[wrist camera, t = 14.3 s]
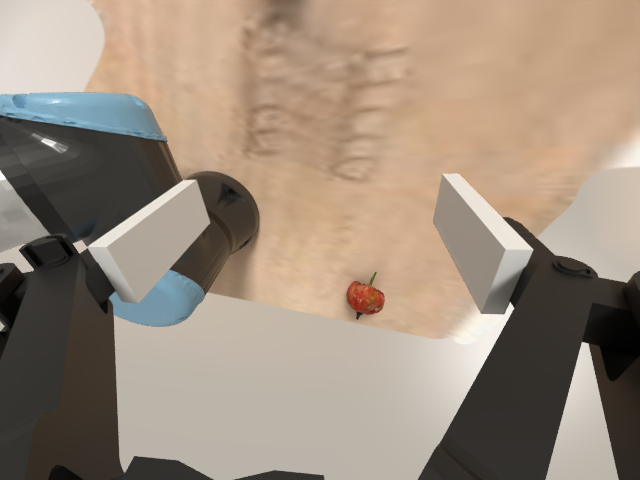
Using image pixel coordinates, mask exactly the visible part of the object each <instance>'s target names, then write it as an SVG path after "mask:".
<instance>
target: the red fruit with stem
mask: <svg viewBox="0 0 640 480" xmlns="http://www.w3.org/2000/svg"><path fill="white" fill-rule="evenodd" d="M376 273H377V272H375V274H374V276H373V278H372V279H371V283H370V285H369V286H368V285H366V284H361V283H360V282H358V281H354V282H353V283H352V284H351V285H350V287H349V288H348V291H347V299H348V302H349V304H350V306H351V307H352V308H353V309H354V310H356V312H357V317H356V319H357V320H358V319H359V317H360V315H362V314H363V313H365V314H367V315H369V314H374V313H378V312H379V311H381V310H382V308H383V306H384V301H385V299H384V294H383V293H382V292H381V291H379V290H376V289H375V288H373V287H371V285H372V282H373V280H374V277H375V275H376Z"/></svg>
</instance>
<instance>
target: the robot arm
mask: <svg viewBox="0 0 640 480" xmlns="http://www.w3.org/2000/svg"><path fill="white" fill-rule="evenodd" d="M167 142H168V141H167V138H166V137H165V136H164V135H163V133H162V131H161V129H160V127H159V125H158V123H157V121H156V119H155V117H154V115H153V112H152V110H151V109H150V107H149V106H148V105H147V104H146V103H145V102H144V101H143V100H141V99H140V98H138V97H136V96H133V95H130V94H122V93H96V92H64V93H62V92H61V93H30V94H15V95H9V94H1V95H0V252H3V251H6V250H8V249H11V248H14V247H16V246H19V245H22V244H26V245H24V246H22V247H21V248H20V250H19V251H20V252H21V254H22V255H23V256H24V257H25V258H26V260H27V261H28V262H29V264H30V265H31V266H32V267H33V268H34V271H33V272H26V273H21V271H20V270H19V269H18V268H17V267H16V266H15V264H14V263H3V264H0V321H1V323H2V324H3V325H4V326H5V327H4V328H3V329H2V330H1V331H0V480H213V479H211V478H209V477H207V476H206V475H204V474H202V473H200V472H198V471H196V470H195V469H193V468H191V467H189V466H187V465H185V464H183V463H181V462H180V461H176V460H166V459H156V458H147V457H137V456H134V458H133V460H132V462H131V463H130V465H129V467H128V469H127V471H126V472H125V473H124V472H123V470H122V467H121V464H120V459H119V440H118V415H117V392H116V391H117V390H116V366H115V340H114V316H113V314H114V315H116V316H118V317H120V318H122V319H125V320H128V321H130V322H134V323H137V324H141V325H146V326H156V327H157V326H158V327H160V326H161V327H162V326H171V325H175V324H178V323H180V322H182V321H184V320H186V319H187V318H188V317H189V316H190V315H191V314H192V312H193V311H194V309H195V308H196V307H197V305H198V304H199V303H201V301H203V299H204V297H205V295H206V293H207V292H208V290H209V288H210V287H211V285H212V283H213V282H214V280H215V278H216V277H217V275H218V274H219V272H220V270H221V269H222V267H223V265H224V264H225V262H226V260H227V259H228V257H229V256H230V255H231V254H233V253H235V252H236V251H238V250H239V249H241V248H242V247H244V246H245V245H247V244H248V243H249V242H250V240H251V239H252V238H253V236H254V234H255V232H256V230H257V228H258V225H259V211H258V208H257V205H256V202H255V200H254V199H253V197H252V195H251V194H250V193H249V191H248V190H247V189H246V188H245V187H244V186H243V185H242V184H240V183H239V182H238V181H236V180H235V179H233V178H231V177H229V176H227V175H224V174H221V173H218V172H211V171H205V172H199V173H195V174H193V175H191V176H189V177H188V178H186V179H185V180H182V178H181V176H180V173H179V171H178V169H177V166H176V164H175V162H174V159H173V157H172V154H171V152H170V149H169V147H168V144H167ZM433 223H434V225H435V227H436V228H437V230H438V232H439V234H440V236H441V238H442V240H443V242H444V244H445V246H446V248H447V249H448V251H449V253H450V255H451V257H452V259H453V261H454V263H455V265H456V267H457V269H458V271H459V272H460V274H461V276H462V278H463V280H464V282H465V284H466V286H467V288H468V290H469V292H470V293H471V295H472V297H473V299H474V301H475V303H476V305H477V307H478V309H479V311H480V313H481V314H505V312H506V309H507V307H508V305H509V303H510V302H511V304H512V305H513V307H514V310H513V312H512V314H511V315H510V318H509V319H508V321H507V323H506V325H505V326H504V328H503V330H502V332H501V334H500V335H499V337H498V339H497V341H496V343H495V345H494V347H493V348H492V350H491V352H490V354H489V356H488V357H487V359H486V361H485V363H484V365H483V366H482V368H481V370H480V372H479V374H478V375H477V377H476V379H475V381H474V383H473V384H472V386H471V388H470V390H469V392H468V393H467V395H466V397H465V399H464V401H463V403H462V404H461V406H460V408H459V410H458V412H457V414H456V415H455V417H454V419H453V421H452V422H451V424H450V426H449V428H448V430H447V432H446V433H445V435H444V437H443V439H442V441H441V442H440V444H439V445H438V446H437V447H436V449H435V450H434V452H433V453H432V455H431V457H430V459H429V461H428V462H427V464H426V466H425V468H424V469H423V471H422V473H421V475H420V477H419V479H418V480H545V479H546V475H547V471H548V468H549V464H550V460H551V456H552V453H553V448H554V445H555V441H556V437H557V434H558V430H559V426H560V422H561V418H562V415H563V411H564V407H565V403H566V400H567V396H568V392H569V388H570V384H571V381H572V377H573V373H574V369H575V366H576V361H577V358H578V354H579V350H580V347H581V343H582V342H585V343H589V347H590V352H591V356H592V361H593V365H594V370H595V374H596V379H597V383H598V388H599V392H600V397H601V402H602V406H603V410H604V415H605V420H606V423H607V428H608V433H609V438H610V442H611V447H612V451H613V456H614V460H615V465H616V469H617V474H618V478H619V480H640V271H638V272H637V273H635V274H634V275H633V276H632V278H631V279H630V280H629V281H628V283H625V282H620V281H614V280H609V279H604V278H599V277H598V275H597V273H596V272H595V271H594V270H593V269H592V268H591V267H589V266H587V265H586V264H584V263H583V262H580V261H577V260H575V259H572V258H568V257H563V256H555V255H554V254H553V253H552V252H551V251H550V250H549V249H548V248H547V247H546V246H544V245H543V244H542V243H541V242H540V241H539V240H538V239H537V238H535V236H534V235H533V234H532V233H531V232H529V231H528V230H527V229H526V228H525V227H524V226H523V225H522V224H521V223H519V222H517V221H515V220H513V219H511V218H509V217H501V216H500V215H499V214H498V213H497V212H496V211H495V210H494V209H493V208H492V207H491V206H490V205H489V204H488V203H487V202H486V201H485V200H484V199H483V198H482V197H481V196H480V195H479V194H478V193H477V192H476V191H475V190H474V189H473V188H472V187H471V186H470V185H469V184H468V183H467V182H466V181H465V180H464V179H463V178H462V177H461V176H460V175H459V174H442V178H441V183H440V188H439V194H438V199H437V204H436V209H435V214H434V219H433ZM80 240H82V241H83V242H84V243H85V245H86V246H87V247H88V248H87V249H86V250H84V251H83V252H82V253H80V254H79V253H78V251H77V250H76V248H75V247H74V245H73V244H72V243H75V242H77V241H80ZM235 480H324V476H323V475H315V474H305V473H295V472H285V471H275V470H274V471H270V472H265V473H261V474H257V475H252V476H248V477H244V478H240V479H235Z"/></svg>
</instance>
